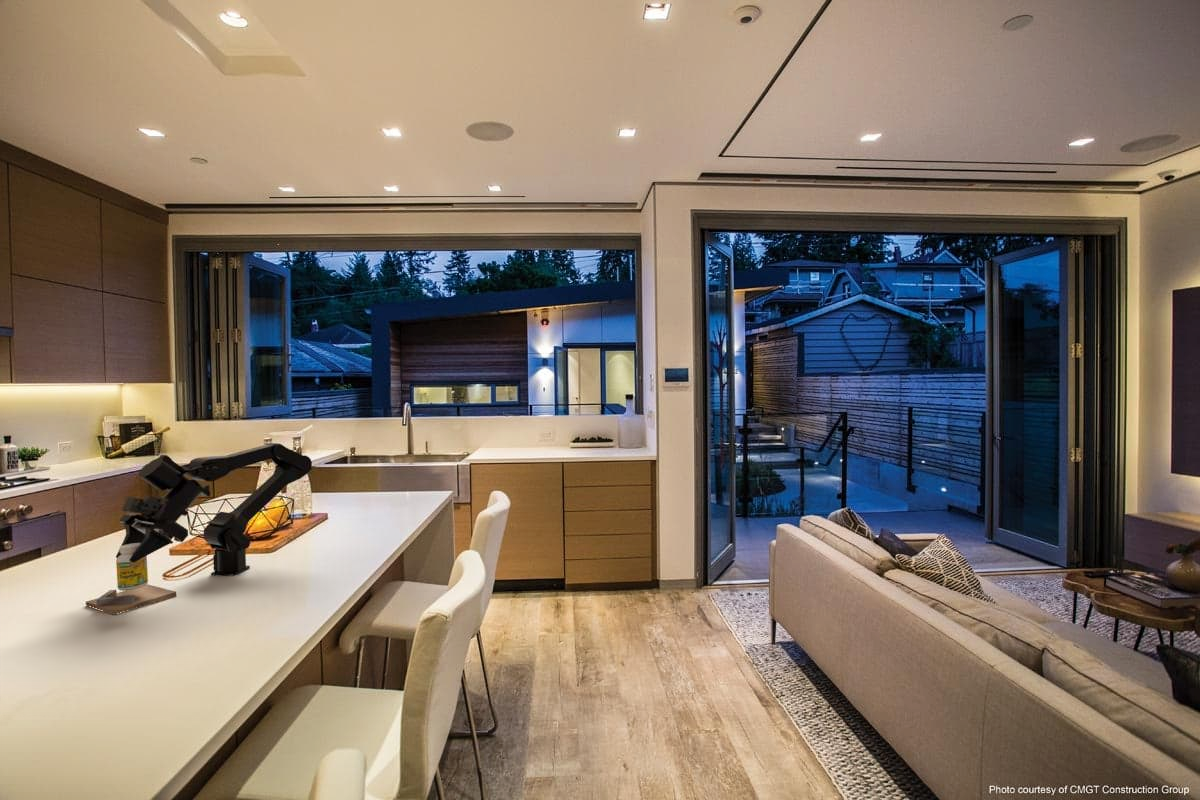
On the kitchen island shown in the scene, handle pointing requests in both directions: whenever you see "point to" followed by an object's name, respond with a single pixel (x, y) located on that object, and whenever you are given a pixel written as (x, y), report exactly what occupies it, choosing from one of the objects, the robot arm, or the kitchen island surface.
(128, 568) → the supplement bottle
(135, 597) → the square wooden base plate
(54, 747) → the kitchen island surface
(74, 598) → the kitchen island surface
